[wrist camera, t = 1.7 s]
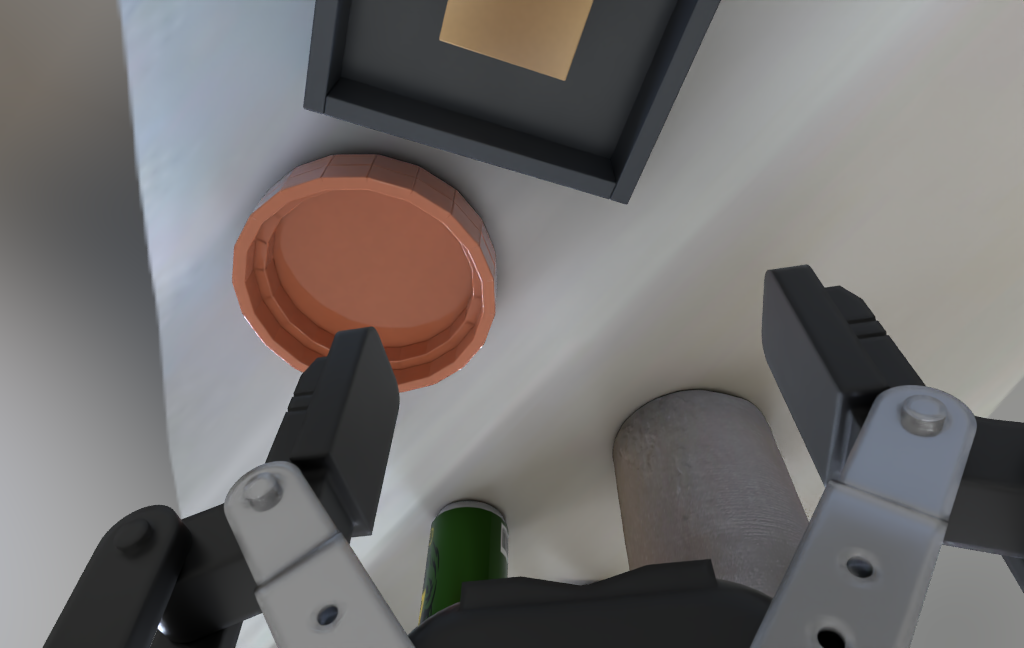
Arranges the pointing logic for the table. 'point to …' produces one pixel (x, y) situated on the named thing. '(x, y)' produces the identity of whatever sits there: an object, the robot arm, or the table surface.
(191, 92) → the table surface
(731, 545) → the pillar candle
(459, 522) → the beer can
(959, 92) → the table surface
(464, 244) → the plate
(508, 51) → the block
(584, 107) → the tray
